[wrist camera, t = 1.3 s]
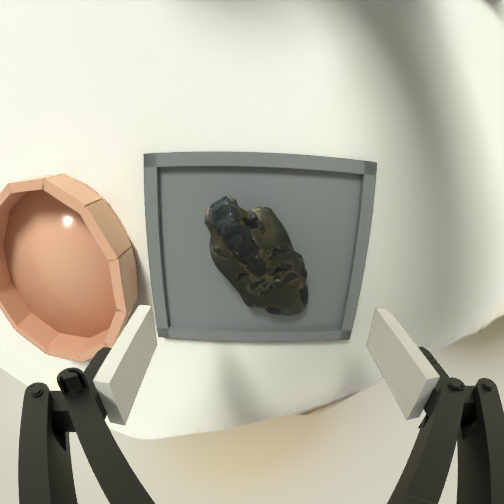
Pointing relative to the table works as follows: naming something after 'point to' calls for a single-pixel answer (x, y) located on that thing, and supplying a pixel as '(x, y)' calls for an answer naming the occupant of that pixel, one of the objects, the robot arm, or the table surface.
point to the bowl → (64, 266)
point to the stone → (257, 257)
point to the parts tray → (292, 218)
